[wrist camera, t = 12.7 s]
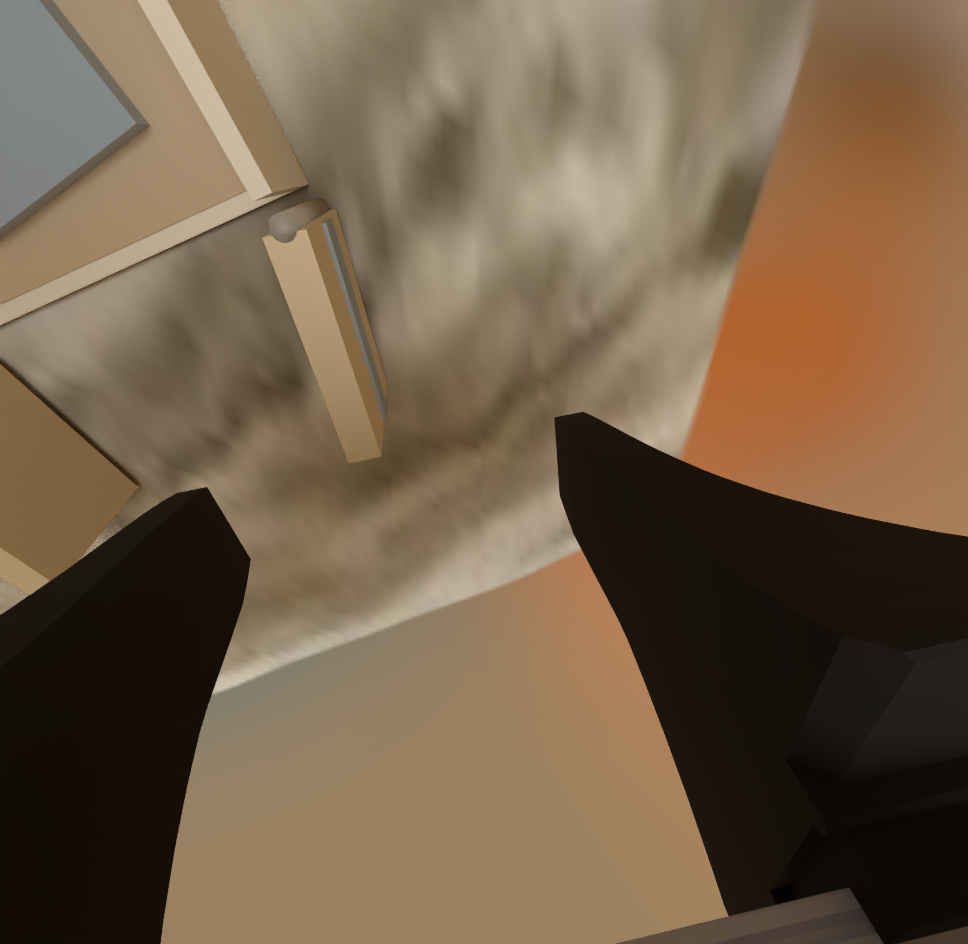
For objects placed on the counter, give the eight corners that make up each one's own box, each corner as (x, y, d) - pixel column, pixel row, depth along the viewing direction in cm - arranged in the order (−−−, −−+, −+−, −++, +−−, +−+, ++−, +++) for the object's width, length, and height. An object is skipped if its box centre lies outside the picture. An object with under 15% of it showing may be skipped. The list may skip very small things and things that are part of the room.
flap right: (300, 200, 15) (254, 217, 10) (334, 194, 15) (304, 208, 10) (362, 389, 19) (348, 463, 14) (389, 384, 19) (385, 456, 14)
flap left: (-44, 362, 16) (-222, 441, 11) (-18, 348, 16) (-187, 422, 11) (116, 497, 20) (30, 598, 15) (138, 487, 20) (57, 586, 15)
